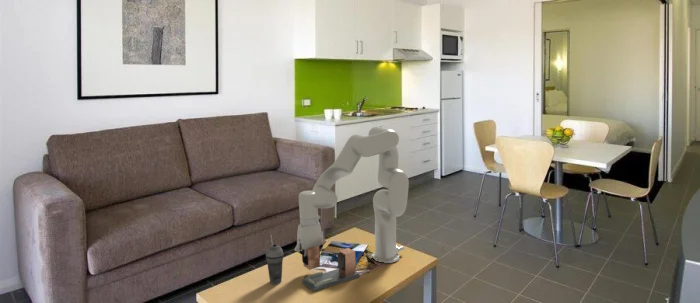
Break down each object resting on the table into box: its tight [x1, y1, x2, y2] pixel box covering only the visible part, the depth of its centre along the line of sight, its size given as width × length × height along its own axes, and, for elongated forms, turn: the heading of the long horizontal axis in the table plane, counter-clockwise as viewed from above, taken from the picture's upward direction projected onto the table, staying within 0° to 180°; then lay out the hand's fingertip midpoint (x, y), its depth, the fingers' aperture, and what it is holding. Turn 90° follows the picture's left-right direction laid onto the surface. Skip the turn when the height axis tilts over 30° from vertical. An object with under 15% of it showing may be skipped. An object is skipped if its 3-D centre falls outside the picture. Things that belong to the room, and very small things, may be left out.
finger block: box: [303, 246, 321, 271], centre depth 192 cm, size 5×6×9 cm
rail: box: [301, 247, 360, 292], centre depth 186 cm, size 22×9×10 cm, turn 125°
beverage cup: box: [265, 234, 285, 285], centre depth 184 cm, size 7×7×20 cm
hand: (311, 261), depth 192 cm, fingers closed on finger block, 5 cm apart
